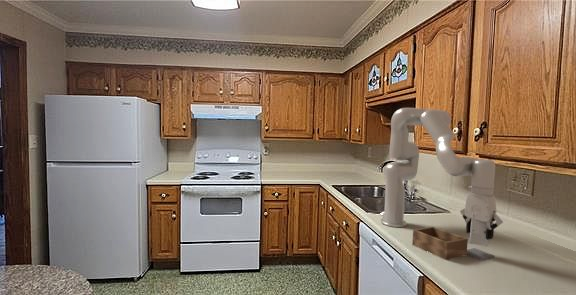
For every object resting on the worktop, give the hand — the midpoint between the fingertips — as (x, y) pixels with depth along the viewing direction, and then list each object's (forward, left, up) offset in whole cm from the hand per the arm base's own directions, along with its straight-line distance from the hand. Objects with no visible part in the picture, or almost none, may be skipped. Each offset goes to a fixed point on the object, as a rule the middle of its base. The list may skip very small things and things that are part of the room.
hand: (479, 235), depth 123 cm
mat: (0, 0, -8) cm, 8 cm away
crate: (-10, -11, -8) cm, 16 cm away
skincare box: (0, 0, -3) cm, 3 cm away
